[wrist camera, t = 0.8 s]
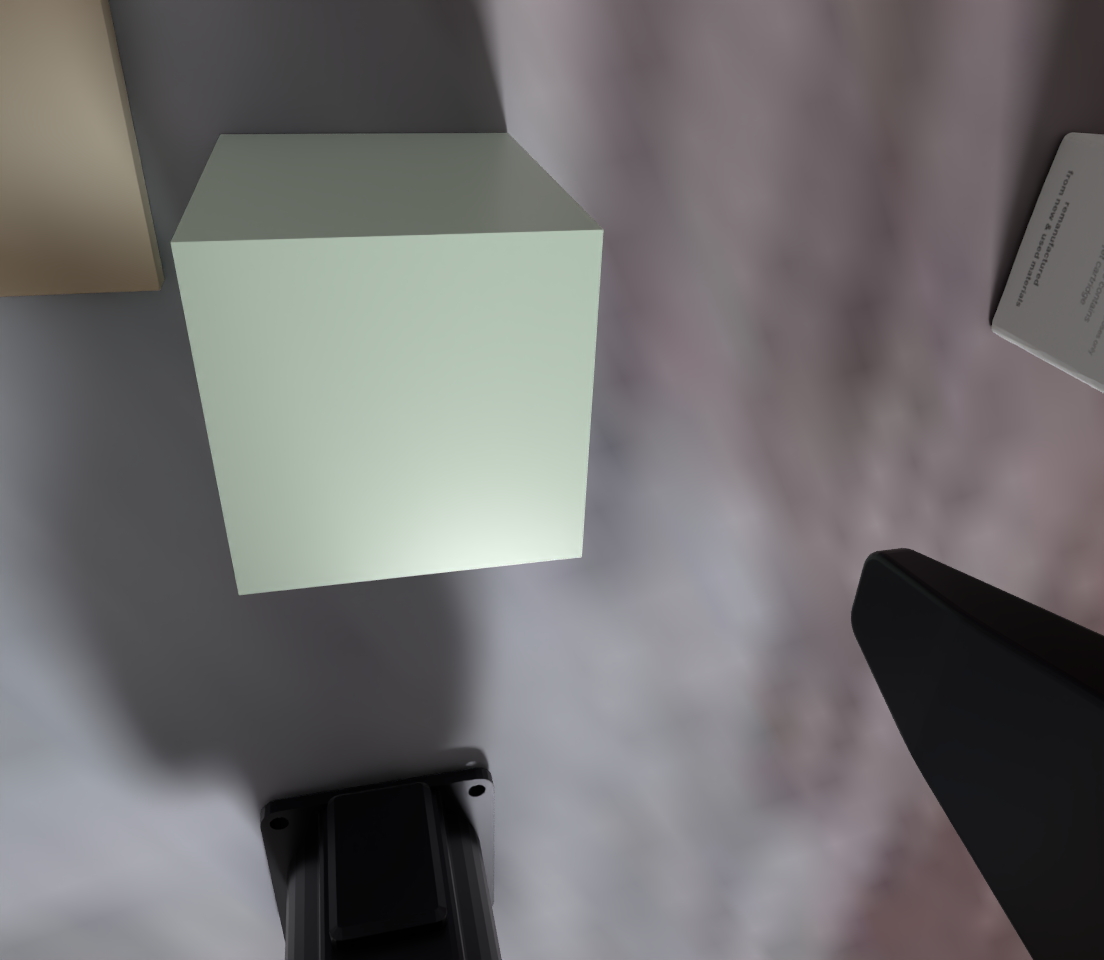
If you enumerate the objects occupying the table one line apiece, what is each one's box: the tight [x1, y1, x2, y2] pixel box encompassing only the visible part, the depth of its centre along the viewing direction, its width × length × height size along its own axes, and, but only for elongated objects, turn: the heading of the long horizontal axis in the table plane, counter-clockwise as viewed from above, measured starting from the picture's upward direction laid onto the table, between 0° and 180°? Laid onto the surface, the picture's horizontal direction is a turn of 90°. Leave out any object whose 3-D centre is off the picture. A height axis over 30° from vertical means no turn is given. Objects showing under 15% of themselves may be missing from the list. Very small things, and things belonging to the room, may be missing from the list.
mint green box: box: [170, 133, 603, 595], centre depth 15 cm, size 5×5×7 cm
